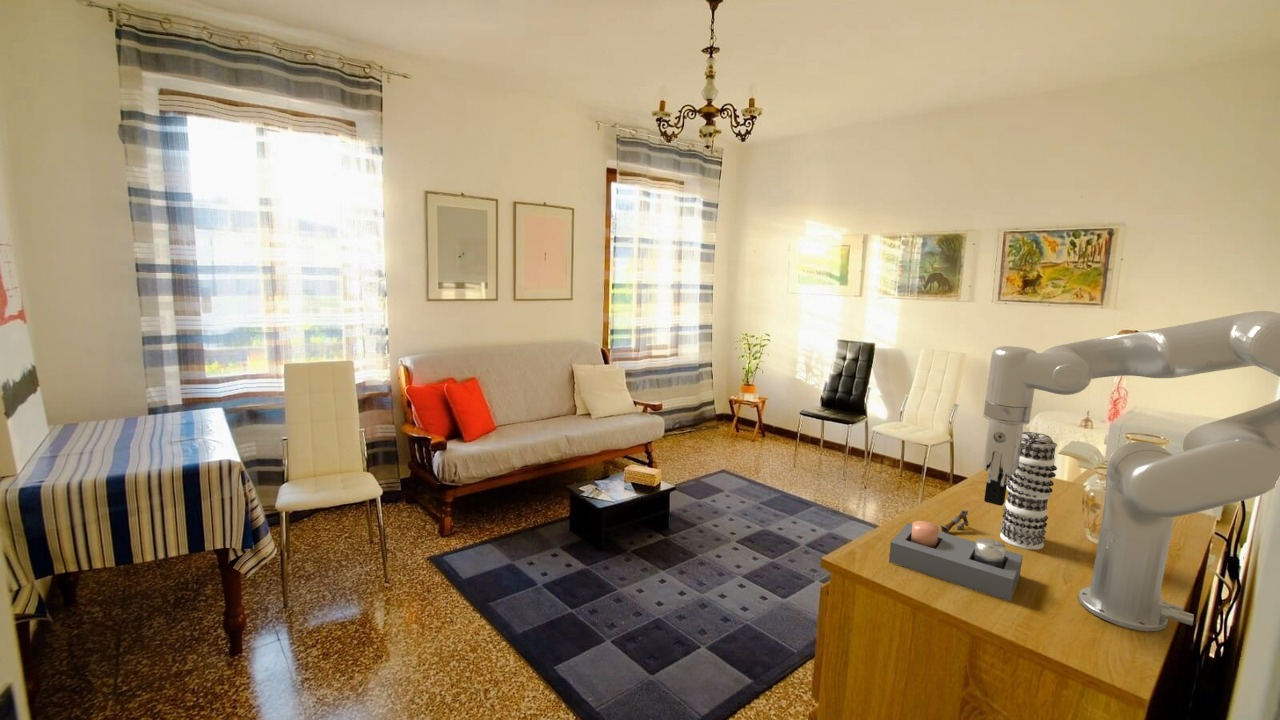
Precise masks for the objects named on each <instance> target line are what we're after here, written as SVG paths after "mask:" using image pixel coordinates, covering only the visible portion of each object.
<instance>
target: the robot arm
mask: <svg viewBox="0 0 1280 720" xmlns="http://www.w3.org/2000/svg"><path fill="white" fill-rule="evenodd" d="M1247 367H1257V368H1259V369H1262V370H1265V371H1267V372H1269V373H1271V374H1273V375H1275V376H1277V377H1280V312H1275V311H1267V310H1257V311H1256V310H1255V311H1250V312H1249V311H1247V312H1242V313H1236V314H1231V315H1227V316H1226V315H1225V316H1220V317H1216V318H1211V319H1206V320H1200V321H1195V322H1190V323H1185V324H1184V323H1183V324H1179V325H1174V326H1168V327H1163V328H1157V329H1150V330H1142V331H1134V332H1132V333H1130V332H1129V333H1124V334H1118V335H1111V336H1104V337H1097V338H1092V339H1091V338H1090V339H1085V340H1080V341H1075V342H1070V343H1069V342H1068V343H1065V344H1060V345H1056V346H1052V347H1050V348H1047V349H1044V351H1042V352H1040V353H1039V352H1037V351H1035V350H1033V349H1031V348H1028V347H1027V348H1026V347H1021V346H1010V345H1008V346H1006V345H1005V346H998V347H996V348H995V349H993V351H992V352H991V357H990V364H989V372H988V379H987V380H988V381H987V388H986V393H985V395H986V396H985V402H984V409H983V418H984V419H986V420H988V426H987V427H988V428H987V435H986V440H985V446H984V447H985V448H984V457H983V469H984V470H985V471H986V472H987V471H988V474H987V481H986V485H985V491H984V499H983V501H984V502H985V503H988V504H992V505H997V506H1002V507H1003V505H1004V504H1005V503H1006V493H1007V484H1006V483H1007V480H1008V477H1007V475H1008V476H1012V475H1013V474H1014V473H1015V471H1016V469H1017V468H1018V466H1019V461H1020V451H1021V443H1022V434H1023V432H1024V425H1029V424H1030V419H1031V416H1032V415H1031V414H1032V408H1033V401H1034V395H1035V390H1038V391H1039V390H1040V391H1043V392H1047V393H1050V394H1051V393H1052V394H1056V395H1062V396H1063V395H1065V396H1067V395H1068V396H1069V395H1075V394H1078V393H1081V392H1082V391H1084V390H1085V389H1087V387H1089V385H1090V384H1091V382H1092V380H1095V379H1101V378H1109V377H1121V376H1125V377H1126V376H1127V377H1128V376H1130V377H1131V376H1132V377H1133V376H1134V377H1142V378H1150V379H1175V378H1182V377H1188V376H1195V375H1199V374H1207V373H1212V372H1219V371H1225V370H1226V371H1227V370H1233V369H1234V370H1235V369H1240V368H1247ZM1182 444H1183V445H1182V449H1183V451H1180V452H1178V453H1173V454H1172V453H1171V452H1170V451H1169V450H1167V449H1165V448H1163V447H1162V446H1160V445H1158V444H1154V443H1151V442H1147V441H1146V442H1145V441H1134V442H1133V441H1132V442H1128V443H1126V444H1124V445H1120V446H1119V447H1118V448H1117V449H1116V450H1115V451H1114V452H1113V453H1112V454H1111V455H1110V458H1109V459H1108V462H1107V467H1106V475H1105V476H1106V477H1105V496H1104V504H1103V511H1102V518H1101V523H1100V529H1099V534H1098V540H1097V546H1096V547H1097V548H1096V551H1095V552H1096V553H1095V559H1094V566H1093V571H1092V577H1091V584H1090V586H1086V587H1083V588H1082V589H1080V591H1078V601H1079V602H1080V604H1081V605H1082V606H1083V608H1084V609H1086V610H1087V611H1089V612H1090V613H1091V614H1093V615H1095V616H1096V617H1098V618H1100V619H1103V620H1104V621H1106V622H1110V623H1111V624H1114V625H1116V626H1120V627H1122V628H1126V629H1131V630H1136V631H1142V632H1159V631H1162V630H1164V629H1165V628H1166V627H1167V625H1168V619H1171V620H1174V621H1177V622H1179V623H1182V624H1185V625H1189V626H1193V625H1194V618H1195V616H1194V614H1193V613H1190V612H1188V611H1184V606H1182V605H1178V604H1175V603H1170V602H1166V599H1163V597H1162V596H1163V593H1162V591H1161V590H1162V586H1163V581H1164V574H1165V570H1166V564H1167V558H1168V554H1169V553H1168V552H1169V547H1170V543H1171V540H1172V534H1173V529H1174V520H1175V517H1182V516H1188V515H1192V514H1195V513H1196V514H1197V513H1200V512H1204V511H1207V510H1212V509H1215V508H1220V507H1223V506H1227V505H1231V504H1235V503H1236V504H1237V503H1239V502H1243V501H1247V500H1250V499H1253V498H1256V497H1259V496H1262V495H1264V494H1266V493H1268V492H1270V491H1272V490H1274V489H1275V488H1276V487H1275V484H1276V481H1277V480H1278V478H1279V476H1280V399H1277V400H1274V401H1273V402H1270V403H1268V404H1267V403H1266V404H1264V405H1262V406H1260V407H1259V406H1258V407H1257V408H1254V409H1251V410H1248V411H1244V412H1242V413H1237V414H1234V415H1231V416H1228V417H1225V418H1221V419H1219V420H1215V421H1212V422H1208V423H1205V424H1201V425H1199V426H1197V427H1195V428H1193V429H1191V430H1190V431H1189V432H1188V433H1187V434H1186V435H1185V437H1184V439H1183V443H1182Z"/></svg>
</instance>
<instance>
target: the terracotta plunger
mask: <svg viewBox="0 0 1280 720" xmlns="http://www.w3.org/2000/svg"><path fill="white" fill-rule="evenodd" d="M911 524H912V534H911V542H914V543H917V544H920V545H924V546H927V547H930V548H934V549H935V548H937V540H938V531H939V530H940V528H939V526H938V525H937V524H935V523H933V522H930V521H925V520H916V521H913V522H912V523H911ZM939 532H940V531H939Z"/></svg>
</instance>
